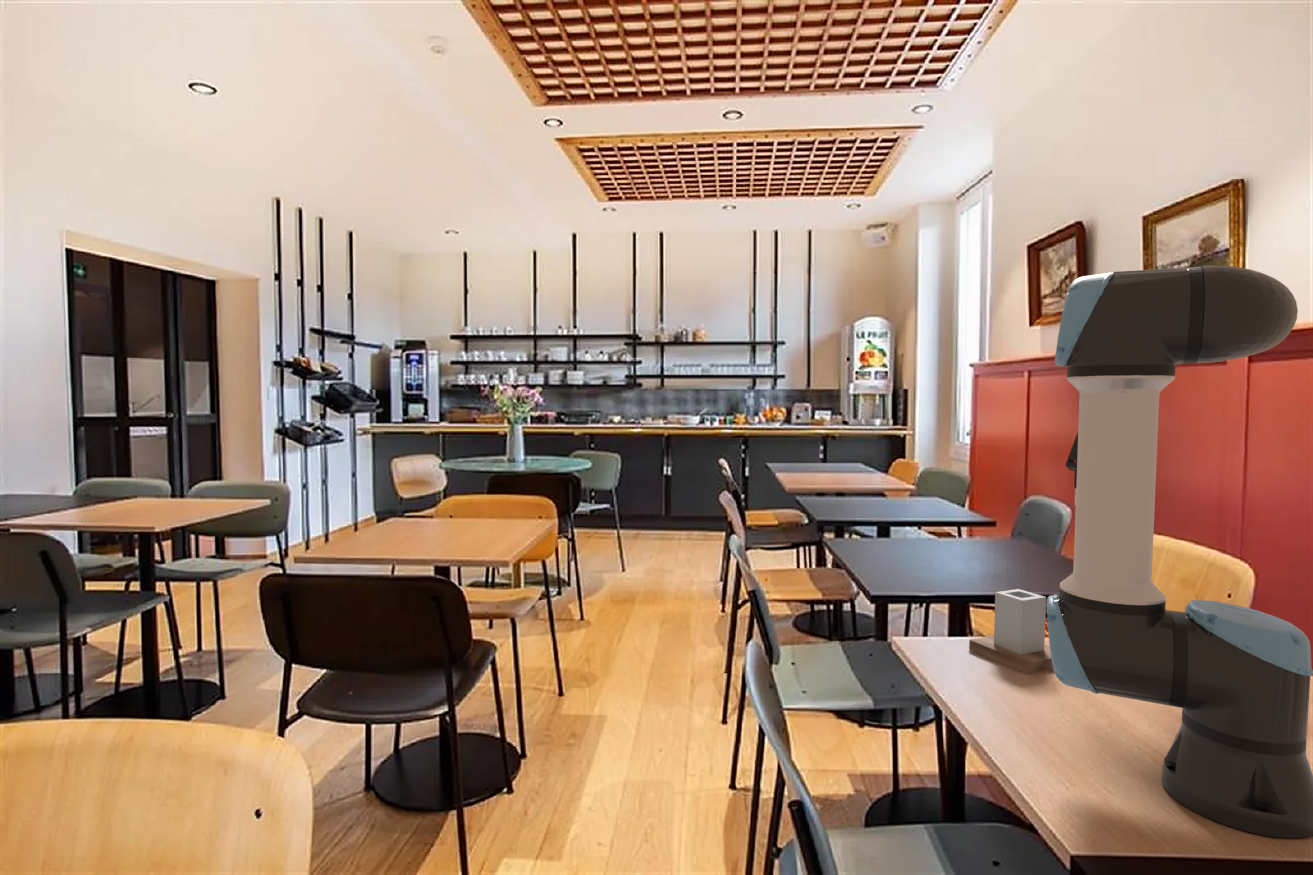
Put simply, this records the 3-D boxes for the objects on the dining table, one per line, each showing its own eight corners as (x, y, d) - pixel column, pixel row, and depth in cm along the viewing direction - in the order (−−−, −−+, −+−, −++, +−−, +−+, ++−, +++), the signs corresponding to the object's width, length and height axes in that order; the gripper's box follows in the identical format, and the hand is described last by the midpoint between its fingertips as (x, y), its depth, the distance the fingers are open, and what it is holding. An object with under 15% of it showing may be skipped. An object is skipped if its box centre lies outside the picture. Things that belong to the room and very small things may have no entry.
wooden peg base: (1027, 674, 126) (1028, 640, 126) (969, 650, 138) (970, 619, 138) (1070, 665, 130) (1071, 632, 130) (1010, 642, 142) (1011, 612, 142)
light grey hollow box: (1020, 654, 130) (1022, 600, 130) (993, 644, 136) (995, 592, 135) (1044, 650, 132) (1046, 597, 132) (1016, 639, 138) (1018, 588, 137)
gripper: (1084, 391, 125) (1080, 511, 126) (1176, 391, 134) (1171, 503, 135) (1046, 391, 132) (1042, 505, 133) (1136, 391, 141) (1132, 498, 142)
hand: (1107, 504), depth 134 cm, fingers open, 13 cm apart
